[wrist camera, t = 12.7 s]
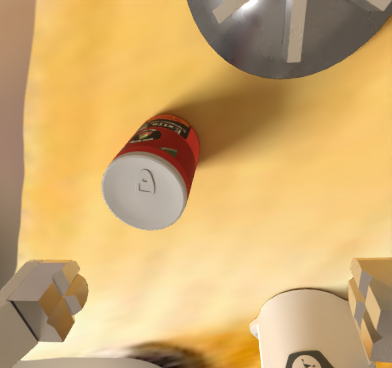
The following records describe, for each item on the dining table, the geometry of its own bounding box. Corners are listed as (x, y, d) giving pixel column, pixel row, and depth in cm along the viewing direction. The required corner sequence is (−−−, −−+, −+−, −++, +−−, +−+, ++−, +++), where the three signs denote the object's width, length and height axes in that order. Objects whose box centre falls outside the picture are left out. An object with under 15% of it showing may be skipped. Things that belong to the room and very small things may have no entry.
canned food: (194, 107, 31) (175, 150, 22) (206, 171, 35) (193, 229, 26) (129, 116, 33) (86, 159, 24) (147, 176, 37) (116, 233, 28)
